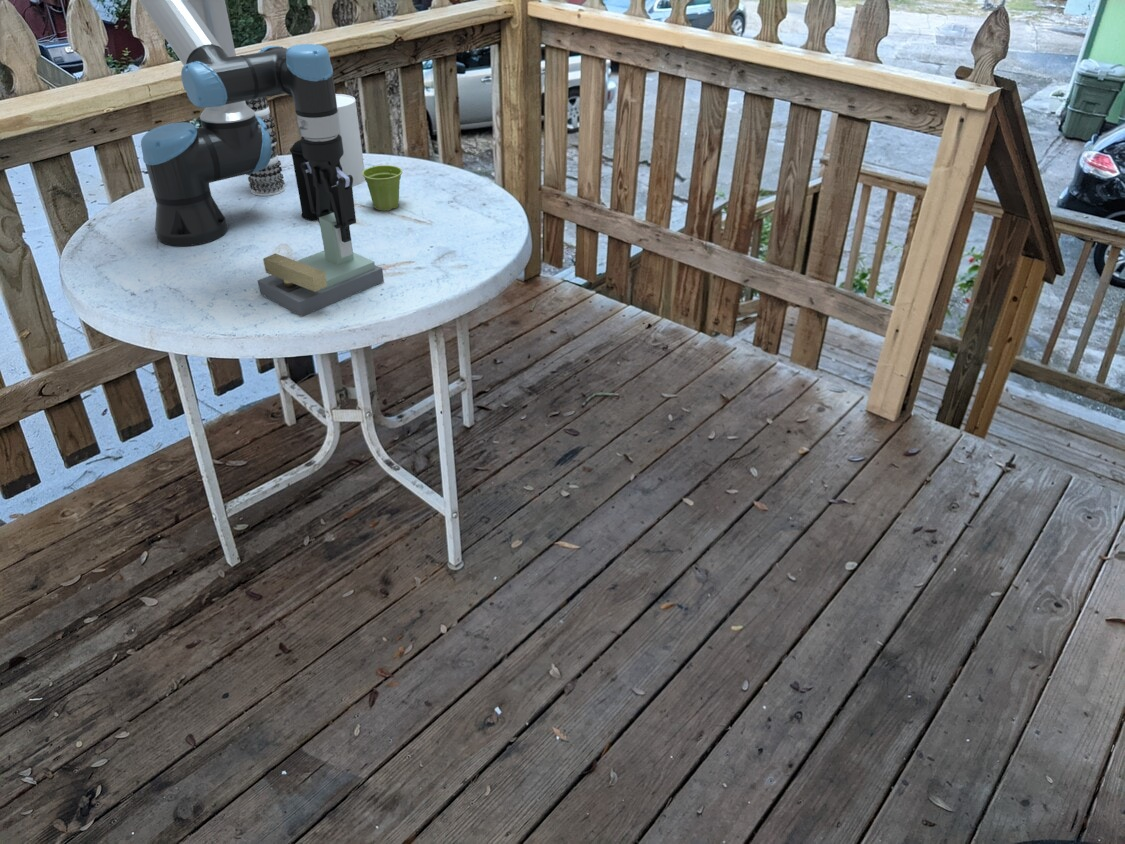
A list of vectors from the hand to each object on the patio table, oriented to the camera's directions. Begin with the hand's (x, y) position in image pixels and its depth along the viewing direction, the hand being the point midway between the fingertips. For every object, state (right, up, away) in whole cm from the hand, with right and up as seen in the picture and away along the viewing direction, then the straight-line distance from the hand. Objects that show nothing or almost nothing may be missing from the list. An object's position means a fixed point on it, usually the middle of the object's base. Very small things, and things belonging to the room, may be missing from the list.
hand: (338, 251), depth 172 cm
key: (-6, -8, -7) cm, 12 cm away
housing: (-3, -7, 0) cm, 8 cm away
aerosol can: (-13, +15, +32) cm, 38 cm away
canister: (-13, +29, +52) cm, 61 cm away
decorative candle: (-30, +25, +45) cm, 59 cm away
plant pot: (+2, +18, +37) cm, 41 cm away
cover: (-2, -4, 0) cm, 4 cm away
